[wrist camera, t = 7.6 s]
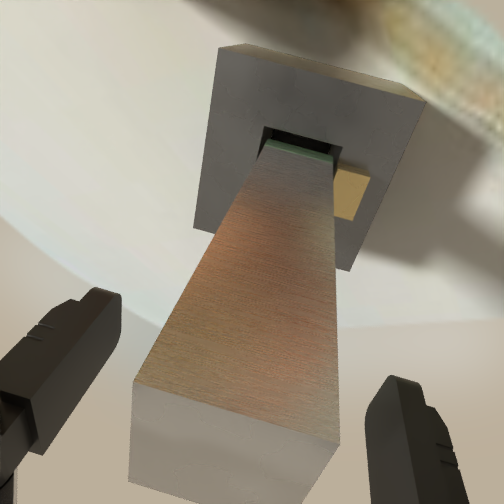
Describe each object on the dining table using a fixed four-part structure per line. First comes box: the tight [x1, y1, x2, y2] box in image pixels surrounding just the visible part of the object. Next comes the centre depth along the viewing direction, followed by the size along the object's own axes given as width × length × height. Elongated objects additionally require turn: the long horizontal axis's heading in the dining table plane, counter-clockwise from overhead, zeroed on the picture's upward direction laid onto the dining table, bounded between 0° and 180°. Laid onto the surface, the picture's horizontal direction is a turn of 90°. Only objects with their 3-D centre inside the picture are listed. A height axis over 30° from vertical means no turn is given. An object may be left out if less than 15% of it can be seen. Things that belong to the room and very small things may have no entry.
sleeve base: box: [193, 43, 426, 272], centre depth 26 cm, size 12×12×9 cm
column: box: [128, 139, 340, 504], centre depth 15 cm, size 4×4×18 cm
